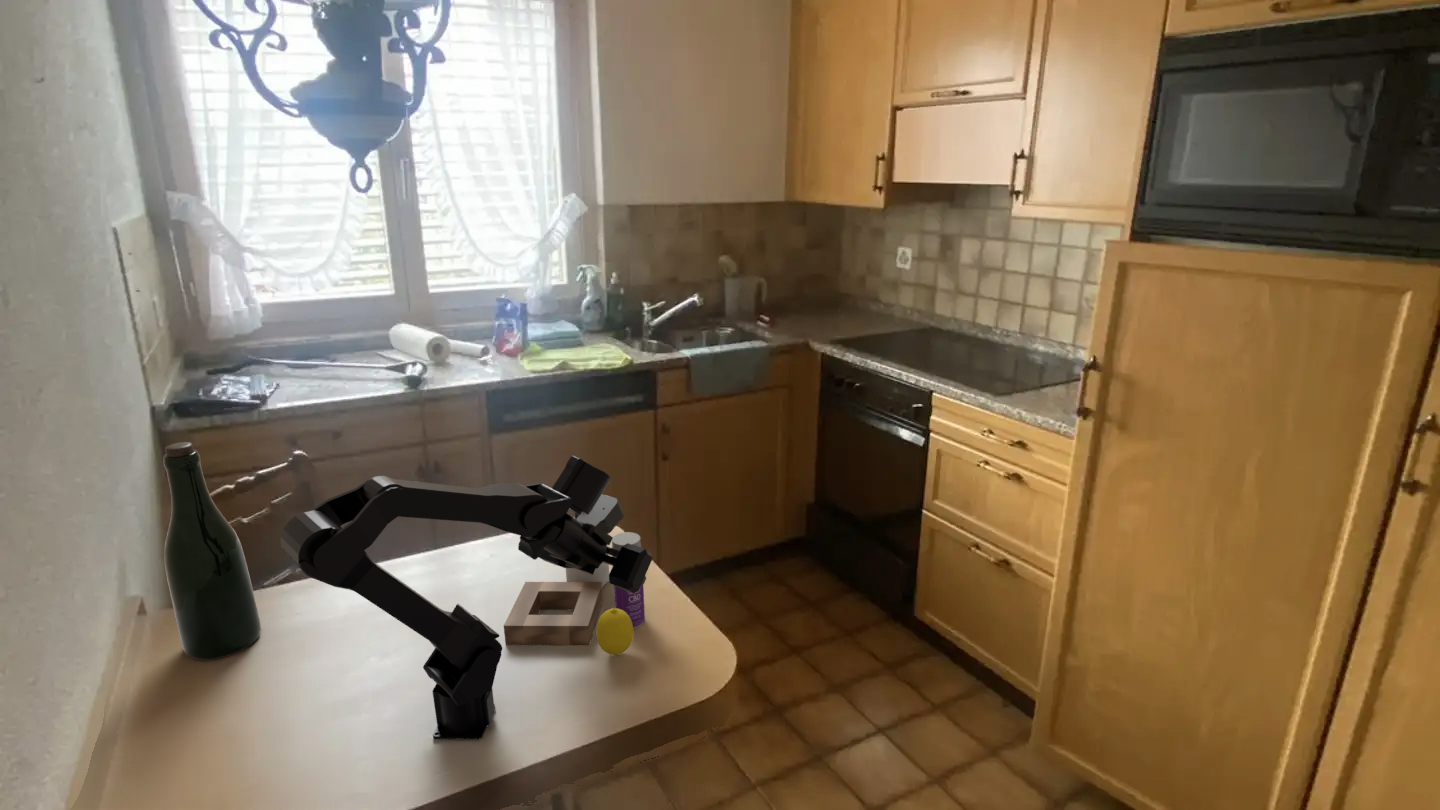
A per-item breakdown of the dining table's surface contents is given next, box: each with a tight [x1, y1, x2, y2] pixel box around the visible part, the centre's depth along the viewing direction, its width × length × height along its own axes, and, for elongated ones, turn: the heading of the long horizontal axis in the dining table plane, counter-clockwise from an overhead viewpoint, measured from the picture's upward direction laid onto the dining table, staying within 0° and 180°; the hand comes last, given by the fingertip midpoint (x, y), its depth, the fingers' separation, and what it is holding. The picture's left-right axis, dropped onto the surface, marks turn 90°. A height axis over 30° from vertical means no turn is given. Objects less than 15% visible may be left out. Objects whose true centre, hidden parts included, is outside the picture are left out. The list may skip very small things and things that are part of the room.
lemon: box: [595, 607, 635, 657], centre depth 118 cm, size 6×6×8 cm
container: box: [611, 531, 646, 630], centre depth 125 cm, size 5×5×15 cm
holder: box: [503, 581, 604, 647], centre depth 127 cm, size 13×13×4 cm
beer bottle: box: [162, 441, 262, 661], centre depth 118 cm, size 10×10×33 cm
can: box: [565, 516, 610, 588], centre depth 137 cm, size 8×8×12 cm
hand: (621, 572), depth 123 cm, fingers open, 9 cm apart
